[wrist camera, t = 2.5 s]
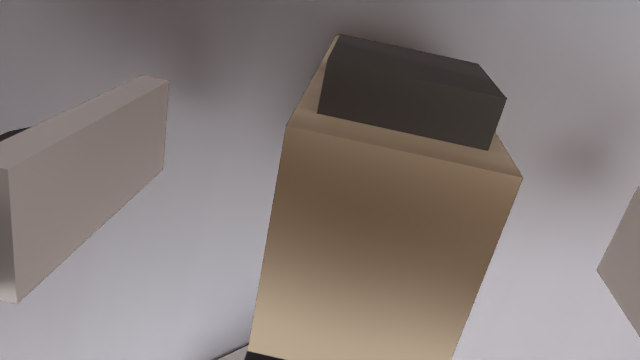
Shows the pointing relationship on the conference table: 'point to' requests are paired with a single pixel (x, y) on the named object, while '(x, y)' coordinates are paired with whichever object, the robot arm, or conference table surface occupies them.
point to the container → (247, 355)
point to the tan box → (383, 208)
